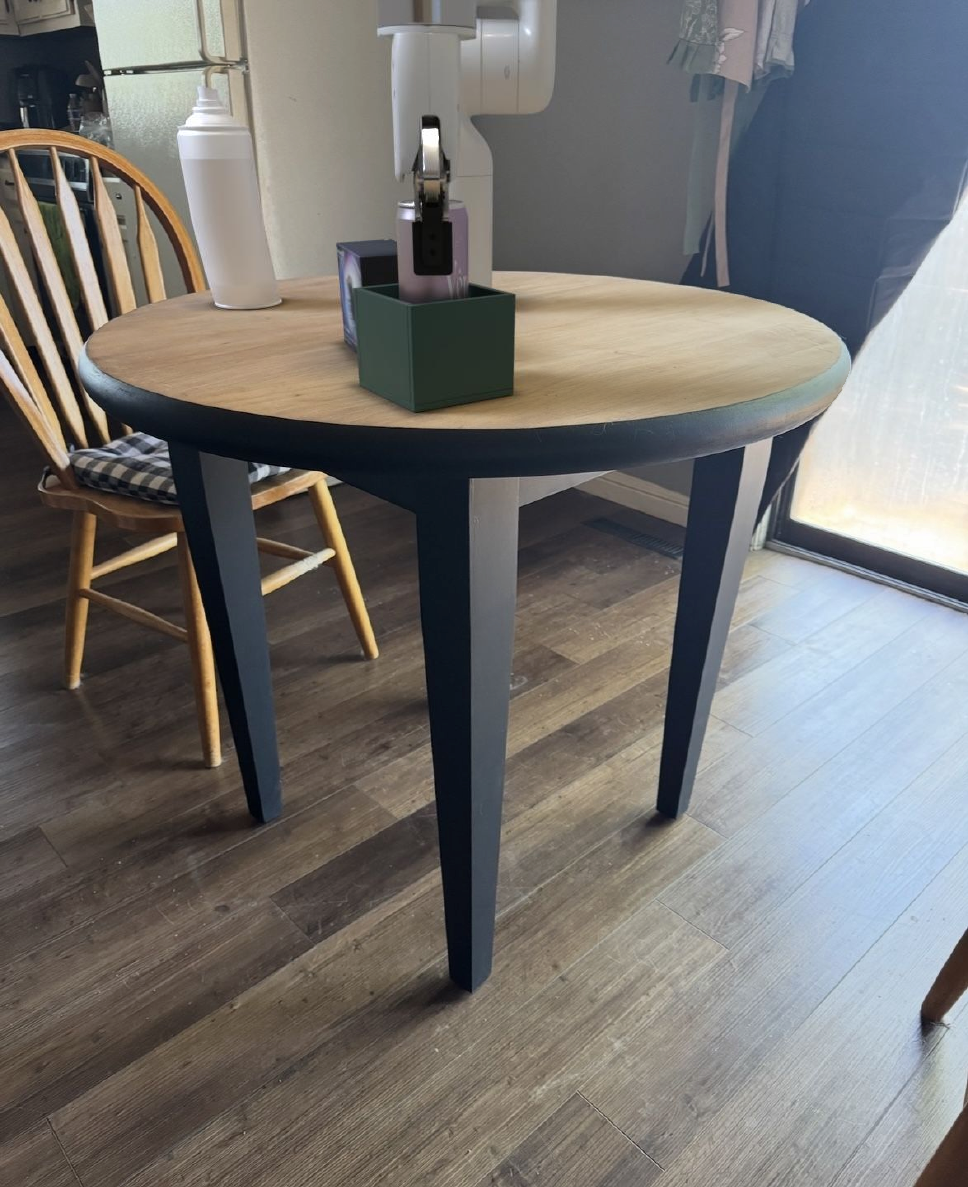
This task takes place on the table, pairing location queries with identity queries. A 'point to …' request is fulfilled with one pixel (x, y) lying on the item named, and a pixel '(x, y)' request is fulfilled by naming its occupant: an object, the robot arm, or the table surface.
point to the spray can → (226, 206)
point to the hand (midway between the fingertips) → (432, 266)
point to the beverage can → (432, 286)
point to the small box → (363, 275)
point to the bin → (435, 346)
